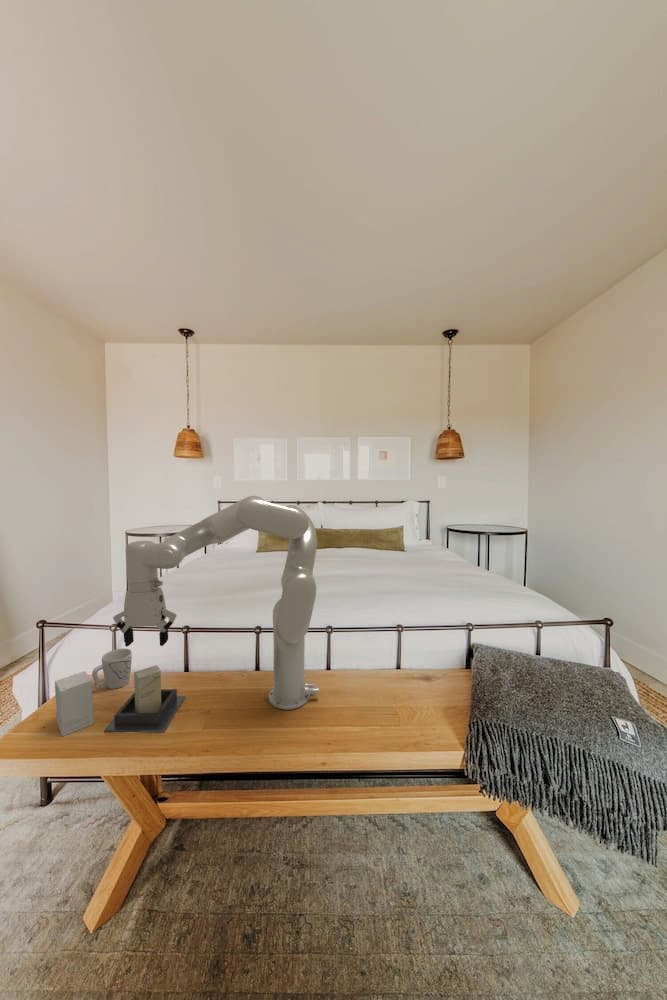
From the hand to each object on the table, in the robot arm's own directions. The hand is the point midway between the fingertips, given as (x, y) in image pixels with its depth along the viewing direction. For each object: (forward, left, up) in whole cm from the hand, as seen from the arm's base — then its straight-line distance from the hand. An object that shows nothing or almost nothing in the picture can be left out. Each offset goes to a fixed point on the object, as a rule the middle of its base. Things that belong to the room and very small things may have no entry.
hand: (146, 643), depth 105 cm
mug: (+18, -14, -21) cm, 31 cm away
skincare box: (0, 0, -21) cm, 21 cm away
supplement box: (+18, +4, -21) cm, 28 cm away
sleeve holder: (0, 0, -21) cm, 21 cm away
